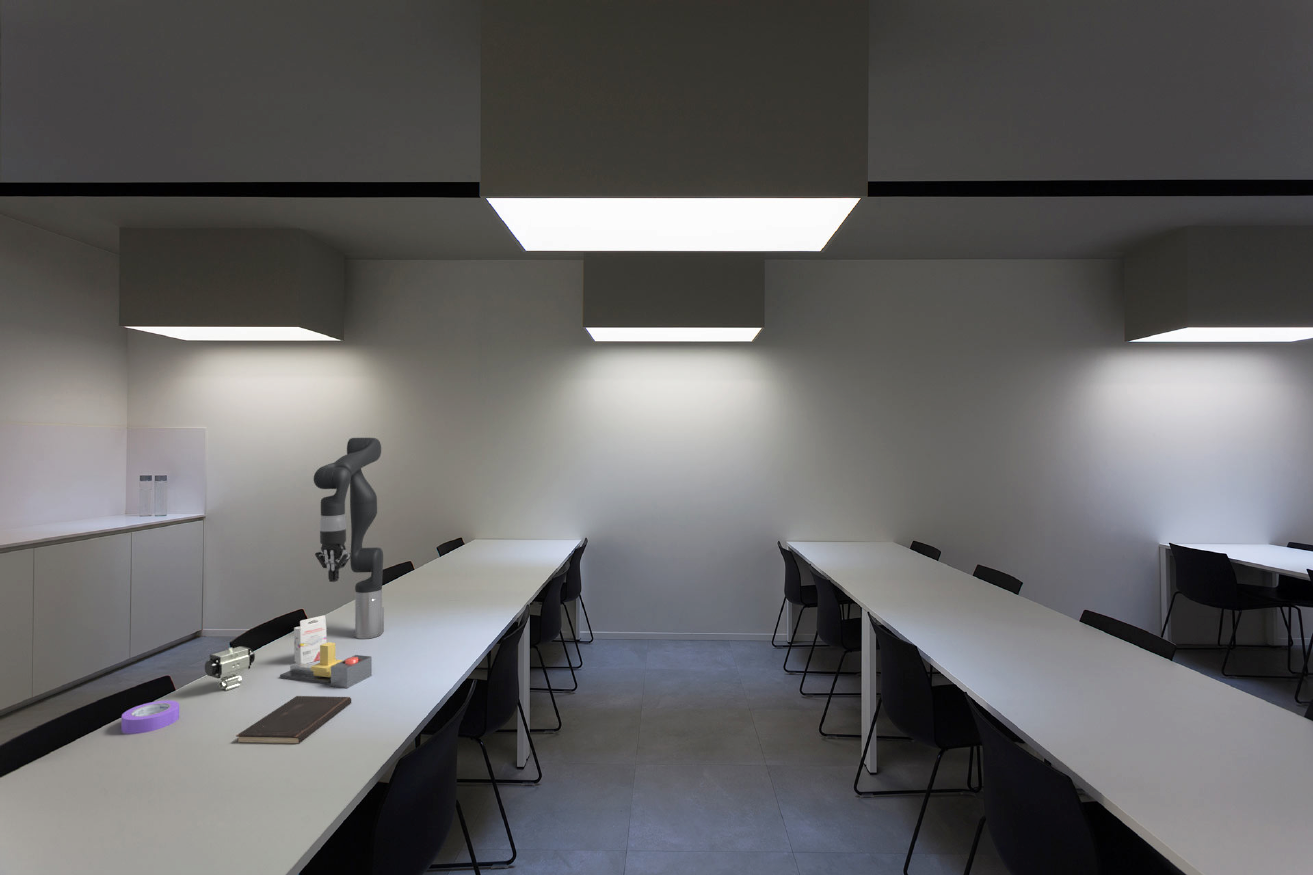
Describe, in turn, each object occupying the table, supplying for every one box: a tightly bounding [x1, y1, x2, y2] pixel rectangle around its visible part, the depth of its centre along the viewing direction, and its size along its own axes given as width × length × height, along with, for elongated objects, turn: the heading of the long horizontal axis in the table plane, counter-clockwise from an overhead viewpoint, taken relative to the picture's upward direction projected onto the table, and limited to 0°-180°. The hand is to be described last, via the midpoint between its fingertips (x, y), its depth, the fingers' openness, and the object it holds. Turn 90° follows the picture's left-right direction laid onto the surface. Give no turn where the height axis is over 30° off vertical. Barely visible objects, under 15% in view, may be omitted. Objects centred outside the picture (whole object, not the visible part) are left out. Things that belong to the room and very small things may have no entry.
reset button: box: [344, 656, 358, 664], centre depth 187 cm, size 4×4×5 cm
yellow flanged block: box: [311, 641, 344, 677], centre depth 189 cm, size 7×6×9 cm
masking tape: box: [121, 699, 180, 735], centre depth 159 cm, size 12×12×4 cm
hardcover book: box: [235, 695, 352, 745], centre depth 160 cm, size 16×23×2 cm
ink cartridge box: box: [293, 614, 327, 664], centre depth 205 cm, size 9×5×15 cm, turn 143°
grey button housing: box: [330, 654, 373, 689], centre depth 187 cm, size 10×6×6 cm, turn 164°
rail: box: [279, 662, 331, 685], centre depth 191 cm, size 8×19×3 cm, turn 74°
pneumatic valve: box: [204, 645, 256, 691], centre depth 182 cm, size 6×12×12 cm, turn 152°
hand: (333, 581), depth 198 cm, fingers closed
